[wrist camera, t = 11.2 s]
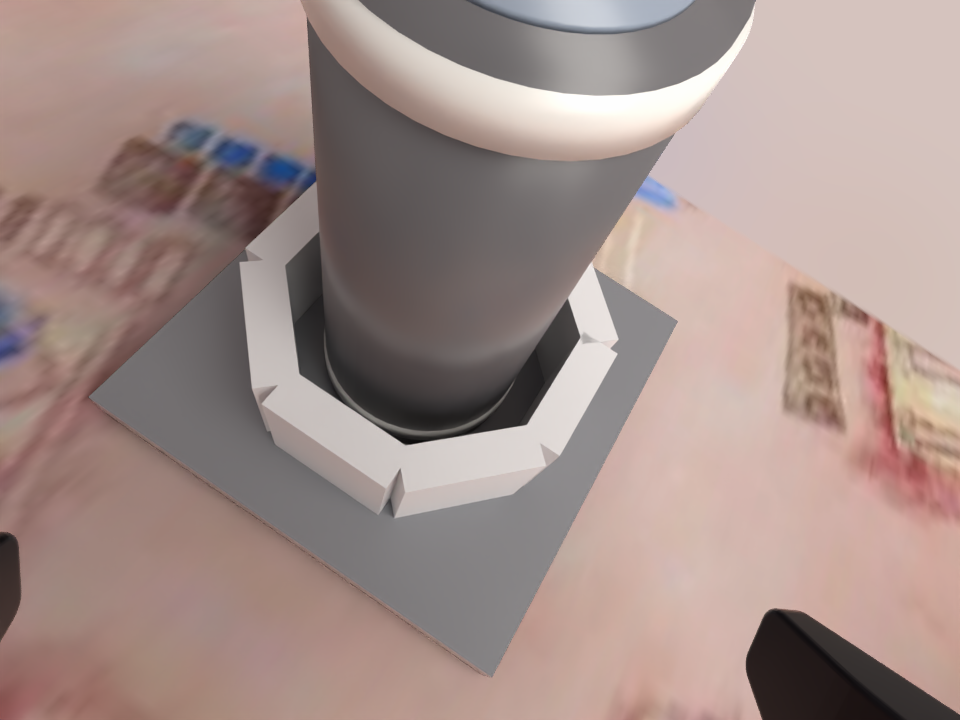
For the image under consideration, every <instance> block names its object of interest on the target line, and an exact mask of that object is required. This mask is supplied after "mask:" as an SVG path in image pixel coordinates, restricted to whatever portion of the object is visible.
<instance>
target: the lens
mask: <svg viewBox="0 0 960 720" xmlns="http://www.w3.org/2000/svg"><path fill="white" fill-rule="evenodd" d="M755 1H756V0H301V3H302V5H303V8H304V10H305V12H306V15H307V28H308V45H309V63H310V80H311V97H312V114H313V131H314V148H315V165H316V182H317V199H318V217H319V234H320V251H321V268H322V285H323V302H324V319H325V329H324V353H325V361H326V367H327V370H328V373H329V378H330V381H331V384H332V387H333V389H334V391H335V393H336V395H337V397H338V399H339V400H340V402H342V403H343V404H345V405H346V406H348V407H349V408H350V409H352V410H353V411H355V412H356V413H358V414H359V415H361V416H362V417H364V418H365V419H367V420H368V421H370V422H371V423H373V424H374V425H376V426H377V427H379V428H380V429H382V430H383V431H385V432H386V433H388V434H389V435H391V436H392V437H394V438H395V439H397V440H398V441H400V442H401V443H406V444H418V443H423V442H429V441H435V440H441V439H447V438H453V437H459V436H464V435H466V434H468V433H470V432H471V431H473V430H474V429H476V428H477V427H479V426H480V425H481V424H482V423H483V422H484V421H485V420H487V419H488V417H489V416H490V415H491V414H493V413H494V411H495V410H496V409H497V408H498V407H499V406H500V404H501V403H502V401H503V400H504V398H505V397H506V395H507V394H508V392H509V391H510V389H511V387H512V386H513V383H514V381H515V379H516V377H517V375H518V374H519V372H520V370H521V369H522V367H523V366H524V364H525V363H526V361H527V360H528V358H529V357H530V355H531V354H532V352H533V351H534V349H535V347H536V346H537V344H538V343H539V341H540V340H541V338H542V337H543V335H544V334H545V332H546V331H547V329H548V328H549V326H550V324H551V323H552V321H553V320H554V318H555V317H556V315H557V314H558V312H559V311H560V309H561V308H562V306H563V304H564V303H565V301H566V300H567V298H568V297H569V295H570V294H571V292H572V291H573V289H574V288H575V286H576V285H577V283H578V281H579V280H580V278H581V277H582V275H583V274H584V272H585V271H586V269H587V268H588V266H589V265H590V263H591V262H592V260H593V258H594V257H595V255H596V254H597V252H598V251H599V249H600V248H601V246H602V245H603V243H604V242H605V240H606V239H607V237H608V235H609V234H610V232H611V231H612V229H613V228H614V226H615V225H616V223H617V222H618V220H619V219H620V217H621V216H622V214H623V212H624V211H625V209H626V208H627V206H628V205H629V203H630V202H631V200H632V199H633V197H634V196H635V194H636V192H637V191H638V189H639V188H640V186H641V185H642V183H643V182H644V180H645V179H646V177H647V176H648V174H649V172H650V171H651V169H652V168H653V166H654V165H655V163H656V162H657V160H658V159H659V157H660V156H661V154H662V153H663V151H664V150H665V148H666V146H667V145H668V143H669V142H670V140H671V139H672V137H673V136H674V134H675V133H676V132H677V131H678V130H680V129H681V128H682V127H684V126H685V125H686V124H688V123H689V121H690V120H691V119H692V118H693V117H694V116H695V115H696V114H697V113H698V112H699V110H700V109H701V108H702V106H703V105H704V103H705V102H706V100H707V99H708V97H709V96H710V94H711V93H712V91H713V90H714V88H715V87H716V85H717V84H718V83H719V81H720V79H721V78H722V77H723V75H724V74H725V72H726V71H727V69H728V67H729V66H730V65H731V63H732V61H733V60H734V58H735V57H736V56H737V54H738V53H739V51H740V49H741V48H742V46H743V44H744V42H745V41H746V39H747V37H748V35H749V32H750V28H751V25H752V22H753V18H754V7H755Z"/></svg>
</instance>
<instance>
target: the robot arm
mask: <svg viewBox="0 0 960 720" xmlns="http://www.w3.org/2000/svg"><path fill="white" fill-rule="evenodd" d="M20 600H21V577H20V559H19V545H18V541H17V539H16V537H15V536H14V535H12V534H10V533H8V532H0V642H1V640H2V638H3V636H4V635H5V633H6V631H7V630H8V628H9V626H10V624H11V623H12V621H13V619H14V617H15V615H16V613H17V611H18V608H19V605H20ZM746 672H747V676H748V680H749V683H750V686H751V688H752V691H753V694H754V697H755V700H756V703H757V706H758V709H759V711H760V714H761V717H762V720H960V715H959V714H958V713H956V712H955V711H953V710H952V709H950V708H949V707H947V706H946V705H944V704H943V703H941V702H940V701H938V700H937V699H935V698H934V697H932V696H931V695H929V694H927V693H926V692H924V691H923V690H921V689H920V688H918V687H917V686H915V685H914V684H912V683H911V682H909V681H908V680H906V679H905V678H903V677H902V676H900V675H899V674H897V673H895V672H894V671H892V670H891V669H889V668H888V667H886V666H885V665H883V664H882V663H880V662H879V661H877V660H876V659H874V658H873V657H871V656H870V655H868V654H867V653H865V652H863V651H862V650H860V649H859V648H857V647H856V646H854V645H853V644H851V643H850V642H848V641H847V640H845V639H844V638H842V637H841V636H839V635H838V634H836V633H835V632H833V631H831V630H830V629H828V628H827V627H825V626H824V625H822V624H821V623H819V622H818V621H816V620H815V619H813V618H812V617H810V616H809V615H807V614H805V613H804V612H801V611H797V610H788V609H777V608H775V609H771V610H769V611H768V612H767V613H766V614H765V615H764V617H763V619H762V621H761V623H760V626H759V628H758V630H757V633H756V635H755V637H754V640H753V642H752V644H751V647H750V649H749V651H748V654H747V657H746Z"/></svg>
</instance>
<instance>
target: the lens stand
mask: <svg viewBox="0 0 960 720" xmlns="http://www.w3.org/2000/svg"><path fill="white" fill-rule="evenodd" d="M677 322H678V321H677V320H675V319H674V318H672V317H670V316H669V315H667V314H666V313H664V312H663V311H661V310H659V309H658V308H656V307H655V306H653V305H652V304H650V303H648V302H647V301H645V300H644V299H642V298H641V297H639V296H637V295H636V294H634V293H633V292H631V291H630V290H628V289H626V288H625V287H623V286H622V285H620V284H619V283H617V282H615V281H614V280H612V279H611V278H609V277H608V276H606V275H604V274H603V273H601V272H600V271H598V270H597V269H595V268H594V267H593V264H592V262H591V263H590V265H589V266H588V268H587V269H586V271H585V272H584V274H583V275H582V277H581V278H580V280H579V281H578V283H577V285H576V286H575V288H574V289H573V291H572V292H571V294H570V295H569V297H568V298H567V300H566V301H565V303H564V304H563V306H562V308H561V309H560V311H559V312H558V314H557V315H556V317H555V318H554V320H553V321H552V323H551V324H550V326H549V328H548V329H547V331H546V332H545V334H544V335H543V337H542V338H541V340H540V341H539V343H538V344H537V346H536V347H535V349H534V351H533V352H532V354H531V355H530V357H529V358H528V360H527V361H526V363H525V364H524V366H523V367H522V369H521V370H520V372H519V374H518V375H517V377H516V379H515V381H514V383H513V386H512V387H511V389H510V391H509V392H508V394H507V395H506V397H505V398H504V400H503V401H502V403H501V404H500V406H499V407H498V408H497V409H496V410H495V411H494V413H493V414H491V415H490V416H489V417H488V419H487V420H485V421H484V422H483V423H482V424H481V425H480V426H479V427H477V428H476V429H474V430H473V431H471V432H470V433H468V434H466V435H464V436H459V437H453V438H447V439H441V440H435V441H429V442H423V443H418V444H406V443H401V442H400V441H398V440H397V439H395V438H394V437H392V436H391V435H389V434H388V433H386V432H385V431H383V430H382V429H380V428H379V427H377V426H376V425H374V424H373V423H371V422H370V421H368V420H367V419H365V418H364V417H362V416H361V415H359V414H358V413H356V412H355V411H353V410H352V409H350V408H349V407H348V406H346V405H345V404H343V403H342V402H340V400H339V399H338V397H337V395H336V393H335V391H334V389H333V387H332V384H331V381H330V378H329V373H328V370H327V367H326V361H325V353H324V329H325V319H324V302H323V285H322V268H321V251H320V234H319V217H318V199H317V182H315V183H314V184H313V185H312V186H311V187H309V188H308V189H307V190H306V191H305V192H304V193H303V194H302V195H301V196H300V197H299V198H298V199H297V200H296V201H295V202H293V203H292V204H291V205H290V206H289V207H288V208H287V209H286V210H285V211H284V212H283V213H282V214H281V215H280V216H279V217H278V218H276V219H275V220H274V221H273V222H272V223H271V224H270V225H269V226H268V227H267V228H266V229H265V230H264V231H263V232H262V233H261V234H259V235H258V236H257V237H256V238H255V239H254V240H253V241H252V242H251V243H250V244H249V245H248V246H247V247H246V248H245V250H244V251H243V252H242V253H241V254H240V255H239V256H238V257H237V258H235V259H234V260H233V261H232V262H231V263H230V264H229V265H228V266H227V267H226V268H225V269H224V270H223V271H222V272H221V273H220V274H218V275H217V276H216V277H215V278H214V279H213V280H212V281H211V282H210V283H209V284H208V285H207V286H206V287H205V288H204V289H203V290H201V291H200V292H199V293H198V294H197V295H196V296H195V297H194V298H193V299H192V300H191V301H190V302H189V303H188V304H187V305H186V306H184V307H183V308H182V309H181V310H180V311H179V312H178V313H177V314H176V315H175V316H174V317H173V318H172V319H171V320H170V321H169V322H167V323H166V324H165V325H164V326H163V327H162V328H161V329H160V330H159V331H158V332H157V333H156V334H155V335H154V336H153V337H152V338H150V339H149V340H148V341H147V342H146V343H145V344H144V345H143V346H142V347H141V348H140V349H139V350H138V351H137V352H136V353H135V354H133V355H132V356H131V357H130V358H129V359H128V360H127V361H126V362H125V363H124V364H123V365H122V366H121V367H120V368H119V369H118V370H117V371H115V372H114V373H113V374H112V375H111V376H110V377H109V378H108V379H107V380H106V381H105V382H104V383H103V384H102V385H101V386H100V387H98V388H97V389H96V390H95V391H94V392H93V393H92V394H91V395H90V396H89V398H90V399H91V400H92V401H93V402H94V403H95V404H96V405H97V406H98V407H99V408H100V409H101V410H102V411H104V412H105V413H106V414H108V415H109V416H111V417H112V418H114V419H115V420H116V421H118V422H119V423H121V424H122V425H124V426H125V427H127V428H128V429H129V430H131V431H132V432H134V433H135V434H137V435H138V436H139V437H141V438H142V439H144V440H145V441H147V442H148V443H150V444H151V445H152V446H154V447H155V448H157V449H158V450H160V451H161V452H162V453H164V454H165V455H167V456H168V457H170V458H171V459H173V460H174V461H175V462H177V463H178V464H180V465H181V466H183V467H184V468H186V469H187V470H188V471H190V472H191V473H193V474H194V475H196V476H197V477H198V478H200V479H201V480H203V481H204V482H206V483H207V484H209V485H210V486H211V487H213V488H214V489H216V490H217V491H219V492H220V493H221V494H223V495H224V496H226V497H227V498H229V499H230V500H232V501H233V502H234V503H236V504H237V505H239V506H240V507H242V508H243V509H244V510H246V511H247V512H249V513H250V514H252V515H253V516H255V517H256V518H257V519H259V520H260V521H262V522H263V523H265V524H266V525H268V526H269V527H270V528H272V529H273V530H275V531H276V532H278V533H279V534H280V535H282V536H283V537H285V538H286V539H288V540H289V541H291V542H292V543H293V544H295V545H296V546H298V547H299V548H301V549H302V550H303V551H305V552H306V553H308V554H309V555H311V556H312V557H314V558H315V559H316V560H318V561H319V562H321V563H322V564H324V565H325V566H326V567H328V568H329V569H331V570H332V571H334V572H335V573H337V574H338V575H339V576H341V577H342V578H344V579H345V580H347V581H348V582H350V583H351V584H352V585H354V586H355V587H357V588H358V589H360V590H361V591H362V592H364V593H365V594H367V595H368V596H370V597H371V598H373V599H374V600H375V601H377V602H378V603H380V604H381V605H383V606H384V607H385V608H387V609H388V610H390V611H391V612H393V613H394V614H396V615H397V616H398V617H400V618H401V619H403V620H404V621H406V622H407V623H409V624H410V625H411V626H413V627H414V628H416V629H417V630H419V631H420V632H421V633H423V634H424V635H426V636H427V637H429V638H430V639H432V640H433V641H434V642H436V643H437V644H439V645H440V646H442V647H443V648H444V649H446V650H447V651H449V652H450V653H452V654H453V655H455V656H456V657H457V658H459V659H460V660H462V661H463V662H465V663H466V664H467V665H469V666H470V667H472V668H473V669H475V670H476V671H478V672H479V673H480V674H482V675H484V676H488V677H492V676H493V674H494V673H495V671H496V669H497V667H498V665H499V663H500V661H501V659H502V657H503V655H504V653H505V651H506V650H507V648H508V646H509V644H510V642H511V640H512V638H513V636H514V634H515V632H516V630H517V628H518V627H519V625H520V623H521V621H522V619H523V617H524V615H525V613H526V611H527V609H528V607H529V606H530V604H531V602H532V600H533V598H534V596H535V594H536V592H537V590H538V588H539V586H540V584H541V583H542V581H543V579H544V577H545V575H546V573H547V571H548V569H549V567H550V565H551V563H552V561H553V560H554V558H555V556H556V554H557V552H558V550H559V548H560V546H561V544H562V542H563V540H564V538H565V537H566V535H567V533H568V531H569V529H570V527H571V525H572V523H573V521H574V519H575V517H576V516H577V514H578V512H579V510H580V508H581V506H582V504H583V502H584V500H585V498H586V496H587V494H588V493H589V491H590V489H591V487H592V485H593V483H594V481H595V479H596V477H597V475H598V473H599V471H600V470H601V468H602V466H603V464H604V462H605V460H606V458H607V456H608V454H609V452H610V450H611V449H612V447H613V445H614V443H615V441H616V439H617V437H618V435H619V433H620V431H621V429H622V427H623V426H624V424H625V422H626V420H627V418H628V416H629V414H630V412H631V410H632V408H633V406H634V404H635V403H636V401H637V399H638V397H639V395H640V393H641V391H642V389H643V387H644V385H645V383H646V382H647V380H648V378H649V376H650V374H651V372H652V370H653V368H654V366H655V364H656V362H657V360H658V359H659V357H660V355H661V353H662V351H663V349H664V347H665V345H666V343H667V341H668V339H669V337H670V336H671V334H672V332H673V330H674V328H675V326H676V324H677Z"/></svg>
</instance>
